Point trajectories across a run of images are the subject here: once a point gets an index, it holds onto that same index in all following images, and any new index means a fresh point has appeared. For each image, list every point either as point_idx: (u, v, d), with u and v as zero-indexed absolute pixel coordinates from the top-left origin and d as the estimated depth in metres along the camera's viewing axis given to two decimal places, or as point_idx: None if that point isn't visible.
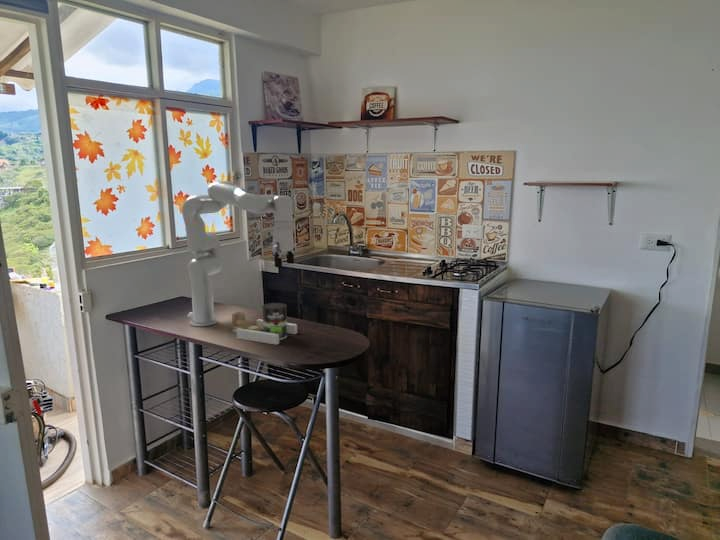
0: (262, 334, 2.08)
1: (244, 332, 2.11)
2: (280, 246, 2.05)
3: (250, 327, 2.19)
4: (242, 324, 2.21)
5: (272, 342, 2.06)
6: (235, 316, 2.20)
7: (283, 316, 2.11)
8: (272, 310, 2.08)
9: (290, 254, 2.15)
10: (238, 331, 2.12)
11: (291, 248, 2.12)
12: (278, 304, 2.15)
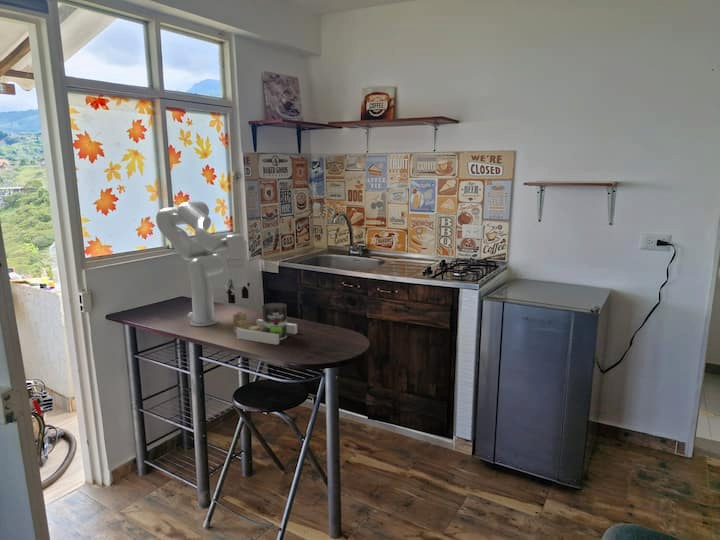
0: (262, 334, 2.08)
1: (244, 332, 2.11)
2: (233, 283, 2.13)
3: (251, 327, 2.19)
4: (243, 324, 2.21)
5: (272, 342, 2.06)
6: (236, 316, 2.19)
7: (283, 316, 2.11)
8: (272, 310, 2.08)
9: (245, 289, 2.23)
10: (238, 331, 2.12)
11: (245, 284, 2.20)
12: (278, 304, 2.15)
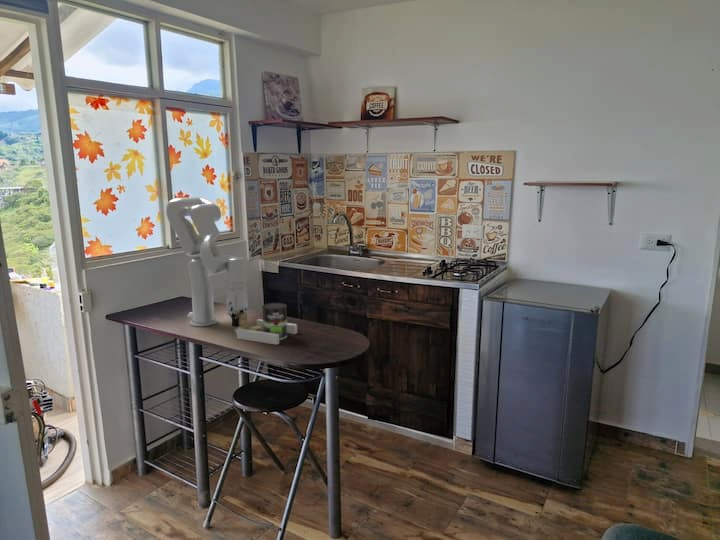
0: (262, 334, 2.08)
1: (244, 332, 2.11)
2: (234, 309, 2.16)
3: (252, 327, 2.19)
4: (244, 324, 2.21)
5: (272, 342, 2.06)
6: None
7: (283, 316, 2.11)
8: (272, 310, 2.08)
9: None
10: (238, 331, 2.12)
11: (245, 306, 2.22)
12: (278, 304, 2.15)
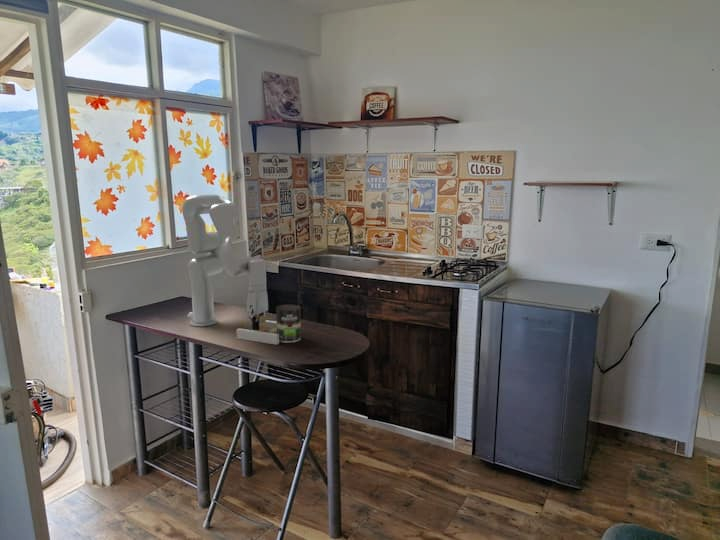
0: (262, 334, 2.08)
1: (244, 332, 2.11)
2: (254, 312, 2.12)
3: (271, 329, 2.15)
4: (262, 326, 2.17)
5: (272, 342, 2.06)
6: None
7: (297, 318, 2.08)
8: (286, 312, 2.05)
9: None
10: (238, 331, 2.12)
11: (265, 309, 2.18)
12: (292, 306, 2.13)
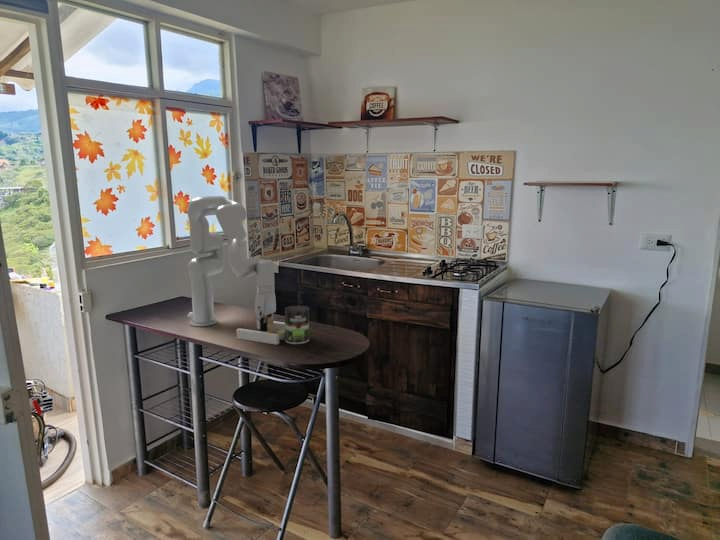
0: (262, 334, 2.08)
1: (244, 332, 2.11)
2: (262, 313, 2.10)
3: (279, 331, 2.13)
4: (270, 328, 2.16)
5: (272, 342, 2.06)
6: None
7: (305, 319, 2.07)
8: (294, 313, 2.04)
9: None
10: (238, 331, 2.12)
11: (273, 310, 2.17)
12: (300, 307, 2.11)
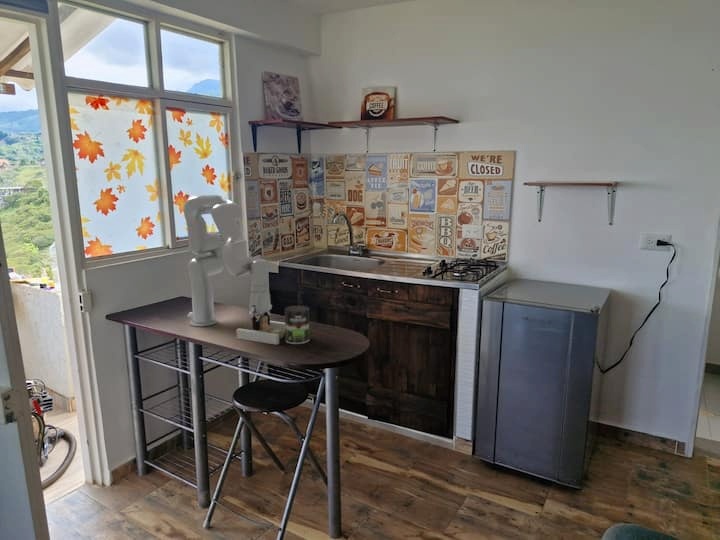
0: (262, 334, 2.08)
1: (244, 332, 2.11)
2: (257, 310, 2.11)
3: (273, 330, 2.15)
4: (265, 327, 2.17)
5: (272, 342, 2.06)
6: None
7: (306, 319, 2.07)
8: (295, 313, 2.04)
9: None
10: (238, 331, 2.12)
11: (268, 309, 2.18)
12: (300, 307, 2.11)
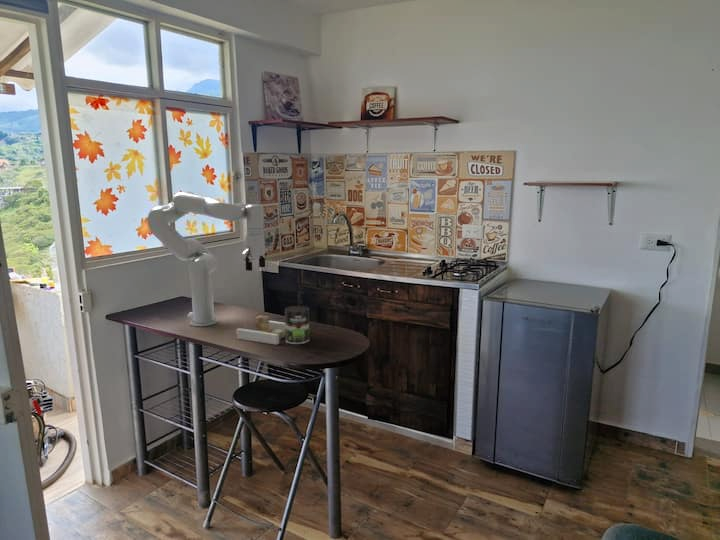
0: (262, 334, 2.08)
1: (244, 332, 2.11)
2: (251, 251, 2.22)
3: (274, 331, 2.14)
4: (266, 328, 2.16)
5: (272, 342, 2.06)
6: (259, 320, 2.15)
7: (306, 319, 2.07)
8: (295, 313, 2.04)
9: (262, 258, 2.32)
10: (238, 331, 2.12)
11: (262, 253, 2.29)
12: (300, 307, 2.11)
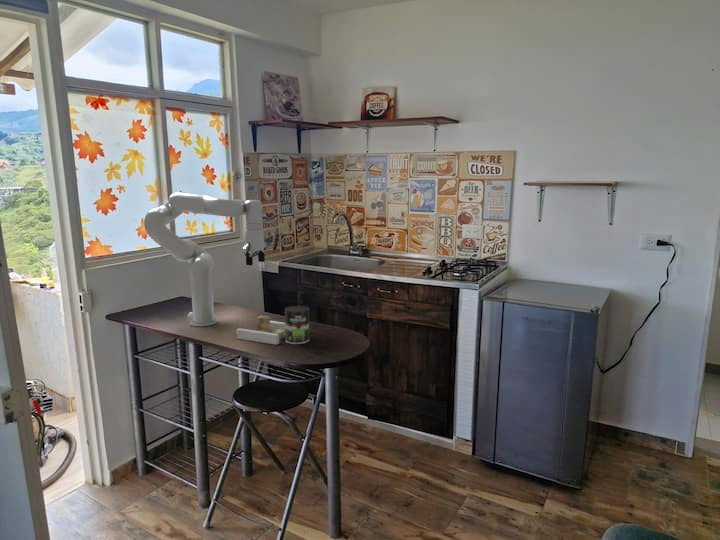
0: (262, 334, 2.08)
1: (244, 332, 2.11)
2: (251, 246, 2.26)
3: (275, 331, 2.14)
4: (267, 328, 2.16)
5: (272, 342, 2.06)
6: (260, 320, 2.14)
7: (306, 319, 2.07)
8: (295, 313, 2.04)
9: (261, 253, 2.36)
10: (238, 331, 2.12)
11: (262, 248, 2.32)
12: (300, 307, 2.11)
